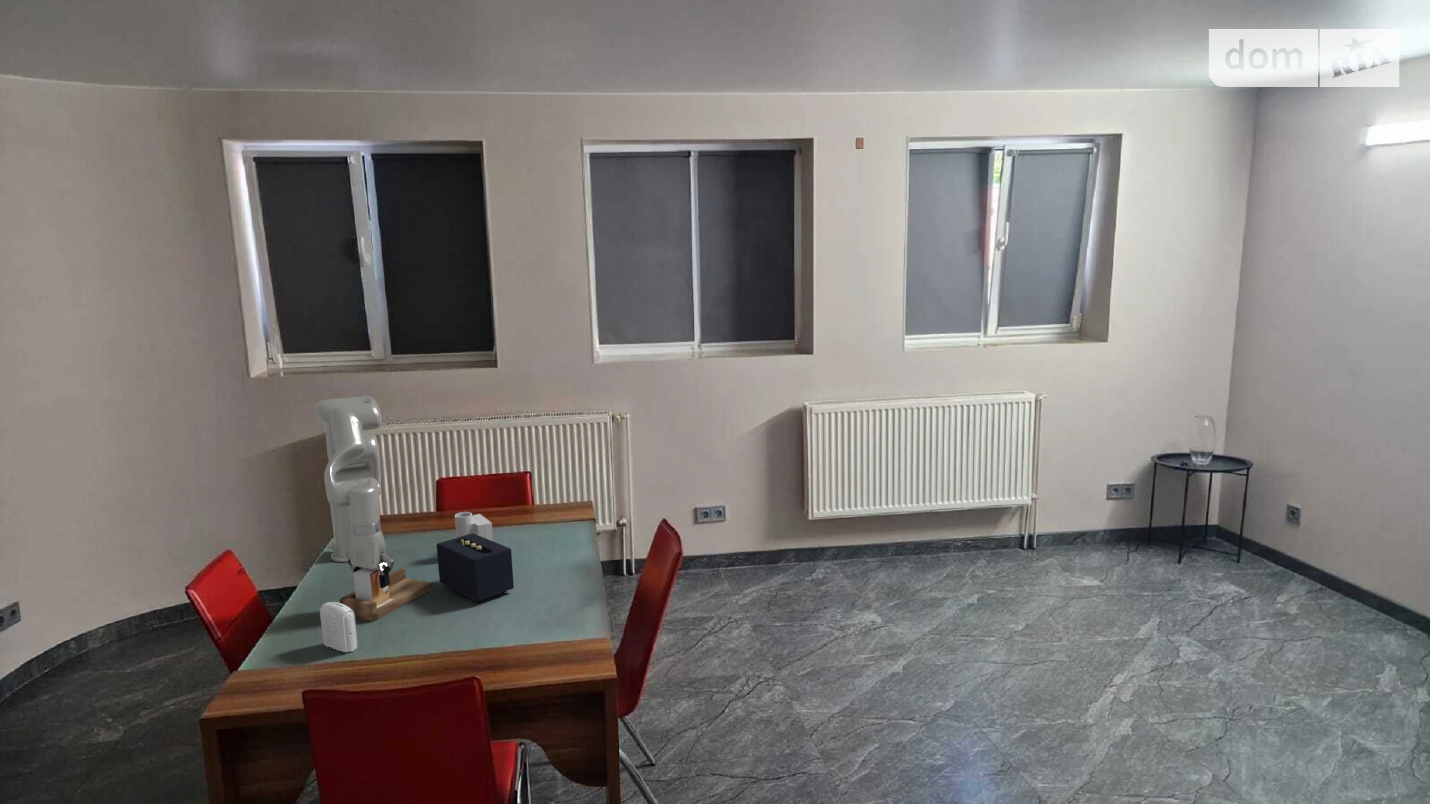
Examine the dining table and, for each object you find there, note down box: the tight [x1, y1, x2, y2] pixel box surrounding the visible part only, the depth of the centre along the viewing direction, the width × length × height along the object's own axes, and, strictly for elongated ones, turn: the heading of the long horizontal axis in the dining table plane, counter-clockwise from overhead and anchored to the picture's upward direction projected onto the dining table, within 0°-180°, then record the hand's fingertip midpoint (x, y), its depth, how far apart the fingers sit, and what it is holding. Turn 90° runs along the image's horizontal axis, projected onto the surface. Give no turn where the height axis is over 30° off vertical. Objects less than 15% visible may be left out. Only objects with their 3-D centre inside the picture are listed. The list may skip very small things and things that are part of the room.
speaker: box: [436, 533, 515, 604], centre depth 252 cm, size 22×13×15 cm, turn 47°
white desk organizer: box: [454, 511, 494, 542], centre depth 280 cm, size 12×14×15 cm
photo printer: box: [319, 601, 358, 652], centre depth 217 cm, size 10×4×12 cm, turn 61°
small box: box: [352, 566, 389, 605], centre depth 240 cm, size 8×6×10 cm
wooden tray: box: [339, 568, 433, 622], centre depth 245 cm, size 12×24×5 cm, turn 157°
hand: (372, 583), depth 240 cm, fingers open, 9 cm apart
